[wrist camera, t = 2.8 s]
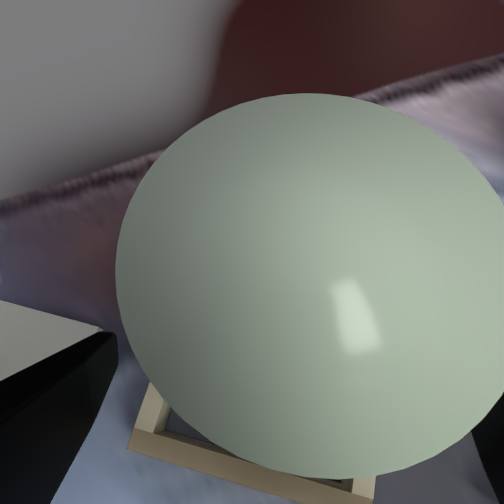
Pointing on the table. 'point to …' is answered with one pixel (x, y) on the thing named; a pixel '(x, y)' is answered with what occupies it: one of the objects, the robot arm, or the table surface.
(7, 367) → the cream square tile
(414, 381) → the ceramic canister
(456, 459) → the table surface
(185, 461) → the birch collar
